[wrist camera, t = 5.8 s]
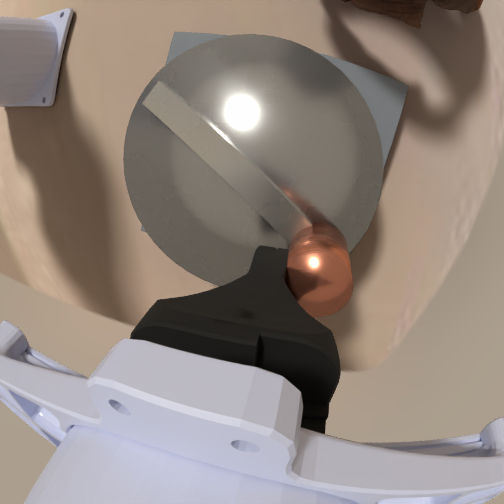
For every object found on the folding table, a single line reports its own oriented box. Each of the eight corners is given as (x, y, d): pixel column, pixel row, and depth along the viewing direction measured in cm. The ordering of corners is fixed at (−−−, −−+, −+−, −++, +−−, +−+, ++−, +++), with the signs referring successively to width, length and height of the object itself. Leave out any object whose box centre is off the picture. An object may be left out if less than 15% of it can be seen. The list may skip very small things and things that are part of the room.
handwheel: (386, 243, 14) (413, 310, 9) (194, 274, 17) (148, 336, 12) (334, 27, 10) (340, -27, 5) (132, 98, 13) (54, 102, 8)
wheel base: (149, 224, 18) (138, 232, 17) (182, 35, 12) (171, 30, 11) (331, 285, 17) (331, 297, 16) (403, 87, 11) (410, 85, 10)
